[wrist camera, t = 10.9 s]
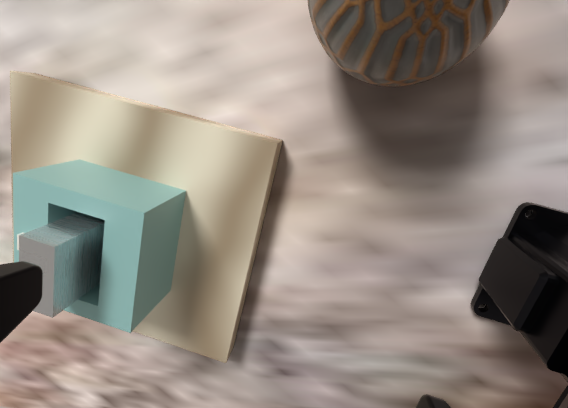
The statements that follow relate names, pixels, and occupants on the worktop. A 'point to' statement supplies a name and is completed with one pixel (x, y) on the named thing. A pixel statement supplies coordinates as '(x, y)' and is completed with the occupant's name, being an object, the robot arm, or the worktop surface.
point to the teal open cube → (109, 232)
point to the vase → (402, 35)
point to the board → (170, 171)
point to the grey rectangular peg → (65, 259)
